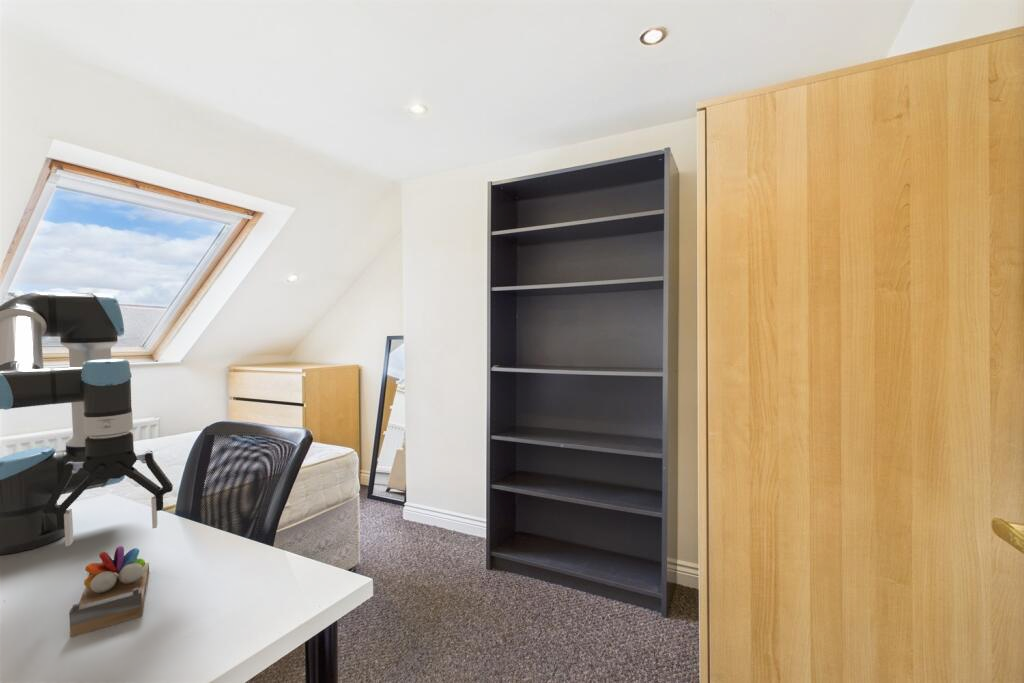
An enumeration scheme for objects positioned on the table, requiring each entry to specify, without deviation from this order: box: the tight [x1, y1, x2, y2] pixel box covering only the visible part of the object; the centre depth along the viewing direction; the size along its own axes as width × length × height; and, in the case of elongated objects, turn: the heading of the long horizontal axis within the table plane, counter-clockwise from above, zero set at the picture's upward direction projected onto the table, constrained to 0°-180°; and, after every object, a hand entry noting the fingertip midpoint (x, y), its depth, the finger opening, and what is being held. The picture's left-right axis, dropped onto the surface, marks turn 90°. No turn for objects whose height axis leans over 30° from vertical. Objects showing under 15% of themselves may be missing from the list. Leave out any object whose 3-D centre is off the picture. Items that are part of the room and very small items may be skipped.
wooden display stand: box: [68, 562, 150, 638], centre depth 93 cm, size 20×10×5 cm, turn 35°
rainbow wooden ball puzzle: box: [83, 545, 146, 593], centre depth 96 cm, size 8×10×7 cm
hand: (114, 534), depth 96 cm, fingers open, 13 cm apart
